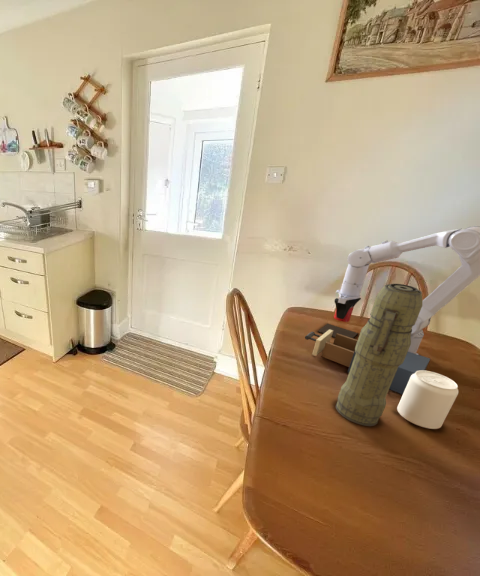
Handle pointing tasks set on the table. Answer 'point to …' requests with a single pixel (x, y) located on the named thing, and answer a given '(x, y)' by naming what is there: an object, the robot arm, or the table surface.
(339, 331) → the dark brown flat plate
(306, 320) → the table surface
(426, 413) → the white cylinder
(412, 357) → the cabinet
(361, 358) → the thermos
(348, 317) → the red can
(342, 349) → the drawer
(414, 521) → the table surface
